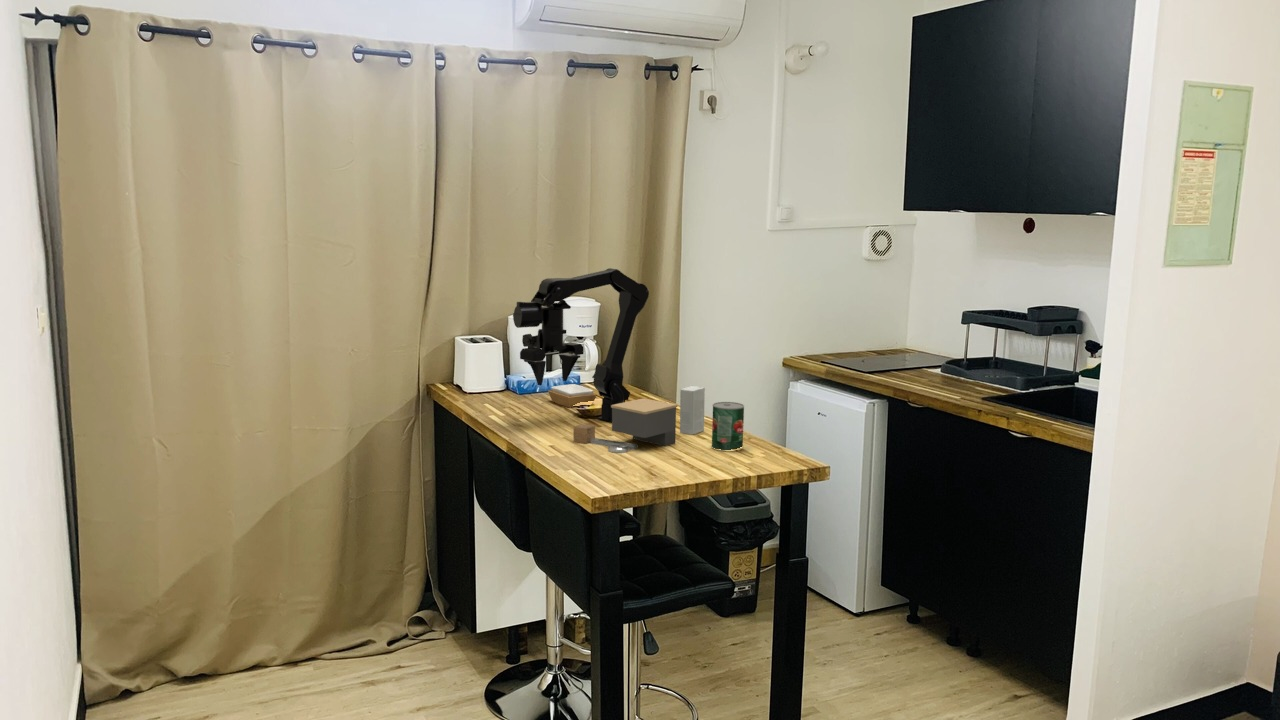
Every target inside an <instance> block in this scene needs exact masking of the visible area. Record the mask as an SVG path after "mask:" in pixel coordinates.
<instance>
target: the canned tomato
mask: <svg viewBox="0 0 1280 720" xmlns="http://www.w3.org/2000/svg"><path fill="white" fill-rule="evenodd" d="M744 419H745V405H744V404H743V403H741V402H734V401H720V402H719V401H717V402H714V403H712V420H711V421H712V423H711V425H712V429H711V435H712V436H711V448H712V447H713V448H715V449H721V450H731V449H737V448H740V447H742V446H743V445H744ZM743 447H744V446H743ZM713 448H712V449H713ZM715 449H714V450H715Z"/></svg>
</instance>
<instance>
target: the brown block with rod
mask: <svg viewBox="0 0 1280 720" xmlns="http://www.w3.org/2000/svg"><path fill="white" fill-rule="evenodd" d="M572 434H573V438H572V441H573V443H579V444H583V445H588V444H592V445H599V446H605V447H609V446H611V445H626V446H628V447H629V450H632V451H634V450H637V449H638V446H639V445H638V443H630V442H626V441H625V442H624V441H620V440H619V441H618V440H610V439H605V438H604V439H603V438H598V437H596V425H593V424H585V423H580V424H577V425H575V426H573V433H572Z"/></svg>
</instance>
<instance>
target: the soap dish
mask: <svg viewBox="0 0 1280 720" xmlns="http://www.w3.org/2000/svg"><path fill="white" fill-rule="evenodd" d="M547 392H548V394H549V397H550V399H551V401H552V403H554V402H555V404H558V405H559V406H564V407H566V408H569V407H572V406H573V405H575V404H577V403H580V402H588V401H594V402H595V400H596V397H597V394H596V393H594V389H590V388H588V387H586V386H582V385H580V384H575V383H573V384H572V383H571V384H561V385H555V386H551V388H550V389H549V390H547ZM572 408H573V407H572Z"/></svg>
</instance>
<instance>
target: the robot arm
mask: <svg viewBox="0 0 1280 720" xmlns="http://www.w3.org/2000/svg"><path fill="white" fill-rule="evenodd" d="M609 285H610V287H612V289H613V290H614V291H616V293H619V294H618V306H619V314H618V316H617V320H616V324H615V327H614V331H613V334H612V337H611V341H610V345H609V347H608V351H607V355H606V358H605V360H604V361H603V363H602V364H598V363H597V364H596V366H595V369H594V374H593V375H592V376H591V377H592V379H593V383H592V384H593V386H594V388H595V390H597V392H598V394H599V396H600V397H602V398H601V410H600V411H601V413H600V414H601V416H598V417H597V419H598V420H599V421H600V420H601V421H606V422H609V423H612V408H611V405H614V404H619V403H624V402H626V401H628V400H629V398H630V395H631V391H630V390H628V389H627V388H626V386H624V384H623V383H624V371H623V364H624V363H623V362H624V360H625V355H626V352H627V349H628V346H629V343H630V339H631V335H632V333H633V329H634V325H635V323H636V319H637V316H638V315H639V314H640V312H642V310H643V309H644V308H645V306H646V303H647V301H648V300H649V296H650V291H649V290H648V287H647V286H646V285H645V284H644V283H639V282H637V281H636V280H634V279H633V278H631V277H629V276H627V275H626V274H625V273H623V272H622V271H621V270H620V269H616V268H611V267H610V268H607V269H603V270H600V271H595V272H591V273H586V274H582V275H579V276H574V277H566V278H565V277H555V278H554V277H551V278H550V277H548V278H544V279H542V280H541V282H540V283H539V285H538V290H537V291H536V294H534V296H533V298H532V299H531V301H526V302H525V301H516V306H515V308H514V310H513V313H512V320H513V324H514V326H515V327H516V329H517V328H535V327H536V328H537V327H539V326H540V325H541V328H539V329H537V330H538V331H537V334H536V335H532V334H531V333H526V334H523V335H522V341H521V342H522V345H523V348H522V349H521V350H520V352H519V359H520V360H523V361H524V362H525V363H527V364H528V365H529V366H530V368H531V369H532V371H533V374H534V375H533V376H534V378H535V380H536V384H537V385H538V386H541V387H542V386H543V381H544V375H545V369H546V363H547V360H546V361H545V359H546V357H548V356H555V355H558V356H559V358H560V360H561V376H562V381H563V382H567V381H568V379H569V376H570V375H571V373H572V370H573V368H574V366H575V365H576V363H577V361H578V360H579V359H580V358H581V355H584V352H585V351H584V346H583V344H582V343H577V342H571V341H570V342H564V335H565V334H567V329H564V310H566V309H567V310H569V309H571V308H572V306H571V305H570V304H568V303H567V301H566V299H567V298H570V297H571V296H573V295H574V294H577V293H578V292H583V291H587V290H588V291H589V290H591V289H592V290H593V289H595V288H600V287H603V286H609ZM526 347H527V348H526Z"/></svg>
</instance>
